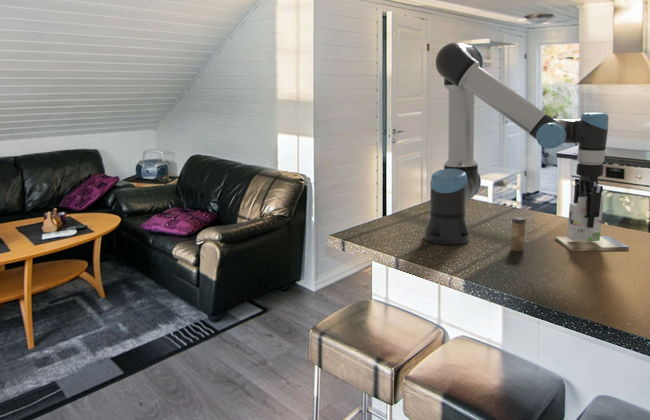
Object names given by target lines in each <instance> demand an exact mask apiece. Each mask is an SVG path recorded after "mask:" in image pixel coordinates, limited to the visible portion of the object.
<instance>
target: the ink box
mask: <svg viewBox="0 0 650 420" xmlns="http://www.w3.org/2000/svg"><path fill="white" fill-rule="evenodd" d="M586 200H587V197H579V198H578V203H574V202H572V203H569V210H568V219H567V220H568V222H567V233H566V234H567V236H566V237H567V238H569V239H571V240H572V241H574V242H579V241H599V240H600V236H601V228H602V220H603V209H604V205H603V204H604V203H603V202H604V196H602V195H601V202H600V213H599V217H595V218H594V227H593V237H583V229H584V219H585V217H584V216H586Z"/></svg>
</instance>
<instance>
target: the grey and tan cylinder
mask: <svg viewBox="0 0 650 420" xmlns="http://www.w3.org/2000/svg"><path fill="white" fill-rule="evenodd" d="M511 221H512V222H511V234H510V247H509V248H510V250H511V251H514V252H522V251H524V249H525V236H526V235H525V234H526V221H527V219H526V218H524V217H512V220H511Z"/></svg>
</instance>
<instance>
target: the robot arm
mask: <svg viewBox="0 0 650 420" xmlns="http://www.w3.org/2000/svg"><path fill="white" fill-rule="evenodd" d="M483 65H484V59H483V55H482V53H481V51H480V50H479V49H478V47H476V46H474V45H472V44H469V43H460V42H451V43H448V44H445V45H444V46H443V47H442V48H440V50H439V51H438V53H437V54H436V57H435V68H436V70H437V73H438V74H439V75H440V76H441V77H443V84H444V87H445V88H446V89H447V91H448V147H447V148H448V149H447V150H448V152H447V153H448V159H447V160H446V161H445V162H444V164H443V168H442V169H438V170H436V171H435V172H433V173H432V174H431V177H430V178H431V179H430V182H429V183H430V185H429V186H430V205H429V219H428V221H427V223H426V227H425V230H424V234H423V238H424V240H425V241H427V242H429V243H431V244H435V245H442V246H458V245H463V244H466V243H468V242H469V241H470V230H469V227H468V223H467V221H466V207H467V206H466V204H467V201H469V200H470V199H472V198H473V197H475V196H476V195H477V193H478V192H479V190H480V188H481V183H482V180H481V176H480V174H479V172H478V171H479V169H478V168H479V167H478V166H479V164H478V162H477V161H476V160H475V158H474V148H475V146H474V142H475V141H474V134H475V133H474V132H475V123H474V122H475V96H476V97H477V98H478V99H480V100H481V101H482V102H484V103H485V104H486V105H488V106H490V108H492V109H494V110H495V111H496V112H498V113H499V114H500V115H502V116H503V117H505V118H506V119H507V120H508V121H510V122H512V123H513V124H514V125H516V126H517V127H519V128H520V129H521V130H523V131H524V132H526V133H527V134H528V135H530V136H531V137H532V138H533V139H535V140H536V141H537V144H538V145H539V146H541V147H542V148H544V149H547V150H548V149H551V150H553V149H557V148H558V147H560V146H562V145H563V144H578V149H577V150H578V151H577V160H576V161H577V164H576V171H575V172H576V173H575V174H576V175H577V176H579V178H575V179H574V194H573V195H574V196H573V203H578V198H579V197H587V200H586V216H584V217H585V219H584V229H583V237H593V227H594V218H595V217H599V213H600V202H601V196H602V193H603V190H604V187H603V186H602V185H599V179H598V178H599V177H603V175H604V168H605V167H604V166H605V165H604V164H603V163H604V162H605V156H606V154H607V153H606V148H607V138H608V132H609V131H608V130H609V116H608V114H607V113H605V112H584V113H582V114H581V117H580V118H578V119H576V118H575V119H571V118H570V119H569V118H568V119H567V118H553V117H552V116H550V115H548V114H547V113H546V112H544V111H543V110H541V109H540V108H539V107H537V106H536V105H535V104H533V103H532V102H530V101H529V100H527V99H526V98H524V97H523V96H521V95H520V94H519V93H517V92H516V91H514V90H513V89H512V88H511V87H509V86H507V85H506V84H505V83H504V82H501V80H499V79H497V78H496V77H495V76H493V75H492V74H490V73H489V72H488V71H486V70H485V69H484V68H483Z"/></svg>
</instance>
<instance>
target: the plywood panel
mask: <svg viewBox="0 0 650 420" xmlns="http://www.w3.org/2000/svg"><path fill="white" fill-rule="evenodd" d="M554 240H555V241H556V242H558V243H559V244H560V245H562V246H563V247H565V248H566V249H567V250H569V251H570V252H584V251H585V252H587V251H591V252H592V251H593V252H594V251H597V252H598V251H629V248H630V246H629V245H627V244H624V243H623V242H621V241H620V240H617V239H616V238H614V237H613V236H610V235H600V240H599V241H579V242H574V241H572V240H571V239H569V238H567V236H555V238H554Z"/></svg>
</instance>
